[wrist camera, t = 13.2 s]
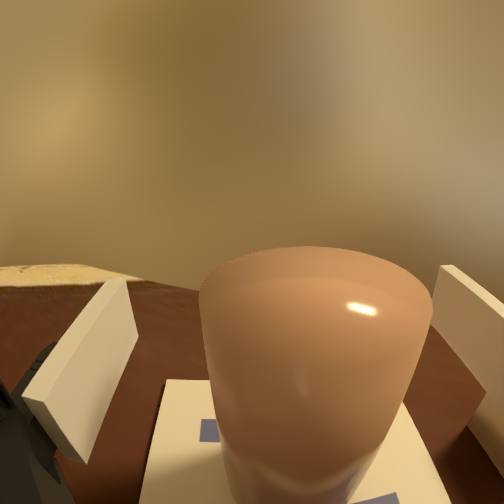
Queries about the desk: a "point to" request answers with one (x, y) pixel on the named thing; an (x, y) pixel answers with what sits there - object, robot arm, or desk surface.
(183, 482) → the letter card
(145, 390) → the desk surface
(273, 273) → the terracotta canister
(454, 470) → the desk surface
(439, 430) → the desk surface
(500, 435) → the ash block
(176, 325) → the desk surface
